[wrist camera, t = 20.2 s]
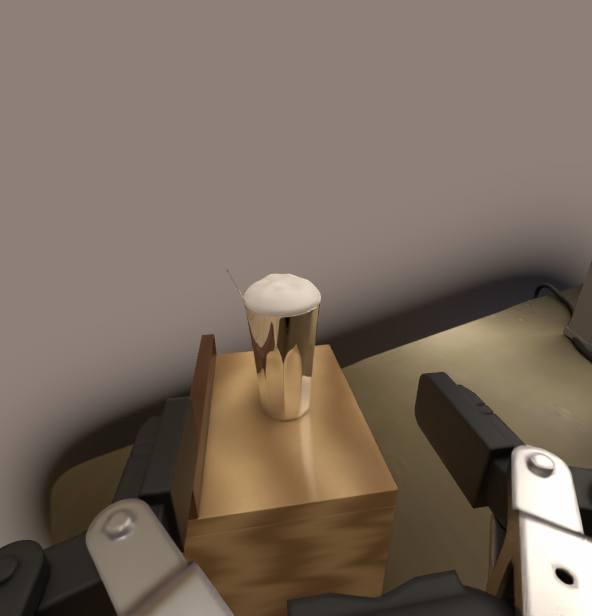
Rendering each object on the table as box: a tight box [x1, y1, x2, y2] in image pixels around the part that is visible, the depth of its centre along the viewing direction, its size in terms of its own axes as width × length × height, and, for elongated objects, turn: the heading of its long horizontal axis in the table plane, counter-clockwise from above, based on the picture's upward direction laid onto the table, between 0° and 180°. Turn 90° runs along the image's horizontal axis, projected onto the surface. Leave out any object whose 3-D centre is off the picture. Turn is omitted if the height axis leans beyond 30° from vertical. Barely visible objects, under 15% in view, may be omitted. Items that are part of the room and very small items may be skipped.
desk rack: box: [184, 334, 398, 616], centre depth 26 cm, size 11×15×14 cm
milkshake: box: [227, 270, 321, 421], centre depth 22 cm, size 4×5×10 cm
